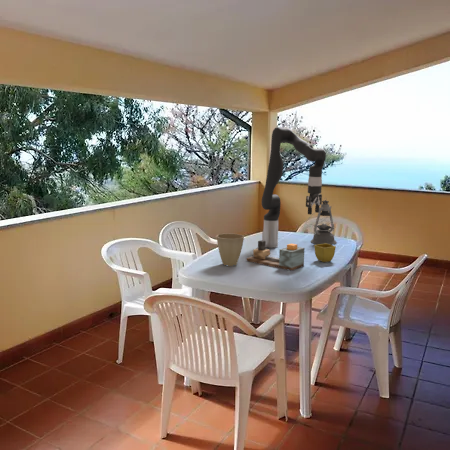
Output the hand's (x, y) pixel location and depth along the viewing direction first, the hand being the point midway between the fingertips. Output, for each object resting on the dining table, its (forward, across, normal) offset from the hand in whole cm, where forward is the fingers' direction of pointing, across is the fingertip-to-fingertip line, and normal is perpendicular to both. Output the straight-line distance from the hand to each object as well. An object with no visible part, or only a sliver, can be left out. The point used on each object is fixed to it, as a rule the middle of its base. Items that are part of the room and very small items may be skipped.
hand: (313, 213), depth 261 cm
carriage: (+25, +23, -19) cm, 39 cm away
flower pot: (+26, 0, +9) cm, 28 cm away
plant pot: (+27, +40, -28) cm, 56 cm away
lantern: (+27, -44, -16) cm, 54 cm away
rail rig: (+26, +23, -10) cm, 36 cm away
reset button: (+17, +23, +1) cm, 29 cm away
